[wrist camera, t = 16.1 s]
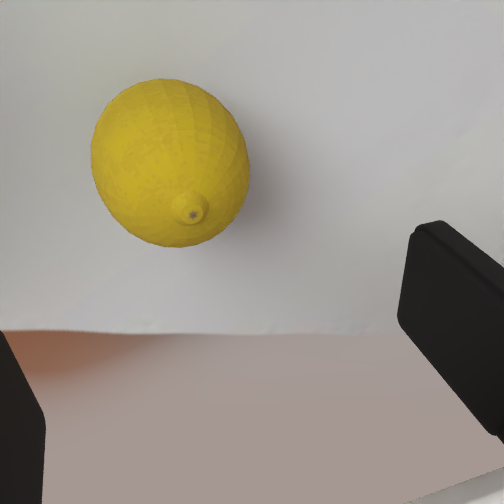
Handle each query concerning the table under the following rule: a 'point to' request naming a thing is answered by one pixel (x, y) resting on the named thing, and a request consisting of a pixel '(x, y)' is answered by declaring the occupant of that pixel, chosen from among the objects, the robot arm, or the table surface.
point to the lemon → (170, 163)
